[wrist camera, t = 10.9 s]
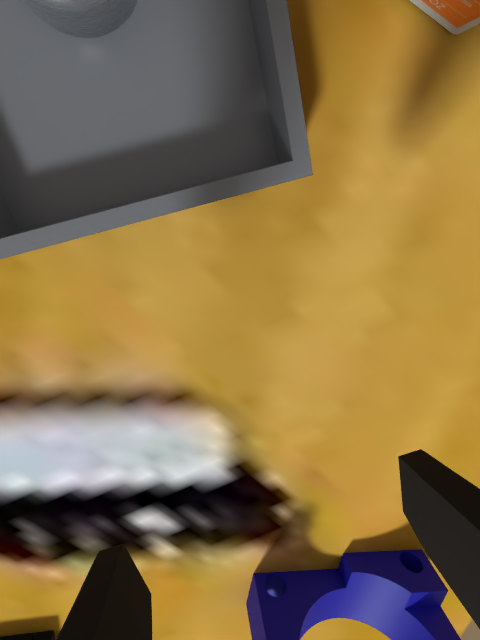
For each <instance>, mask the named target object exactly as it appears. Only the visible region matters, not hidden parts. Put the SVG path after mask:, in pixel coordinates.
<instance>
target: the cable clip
mask: <svg viewBox="0 0 480 640" xmlns="http://www.w3.org/2000/svg"><path fill="white" fill-rule="evenodd" d="M447 592H448V589H447V588H446V586H445V585H444V583H443V582H442V580H441V579H440V577H439V576H438V574H437V572H436V571H435V569H434V568H433V566H432V565H431V563H430V562H429V560H428V559H427V557H426V556H425V554H424V553H423V551H422V550H401V551H380V552H358V553H343V556H342V559H341V562H340V564H339V567H338V569H324V570H306V571H288V572H270V573H253V578H252V582H251V586H250V591H249V595H248V599H247V603H246V605H247V611H248V617H249V623H250V629H251V635H252V640H300V639H301V637H302V636H303V635H304V634H305V633H306V632H307V630H308V629H310V628H311V627H312V626H314V625H315V624H317V623H319V622H321V621H324V620H327V619H331V618H348V619H353V620H357V621H360V622H363V623H366V624H368V625H370V626H372V627H374V628H376V629H377V630H379V631H381V632H382V633H383V634H385V635H386V636H388V637H389V638H390V639H391V640H461V639H460V638H459V636H458V634H457V633H456V631H455V629H454V628H453V626H452V624H451V623H450V621H449V619H448V618H447V616H446V615H445V613H444V611H443V610H442V608H441V604H442V602H443V600H444V598H445V596H446V594H447Z"/></svg>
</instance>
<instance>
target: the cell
mask: <svg viewBox="0 0 480 640" xmlns="http://www.w3.org/2000/svg"><path fill="white" fill-rule="evenodd" d="M23 1H24V2H25V3H26V4H27V5H28V6H29V7H30V9H31V10H32V11H33V12H34V13H35V14H36V15H37V16H38V17H39V18H41V19H42V20H43V21H44V22H46V23H47V24H48V25H50V26H51V27H53V28H55V29H57V30H58V31H61V32H63V33H65V34H68V35H71V36H75V37H82V38H94V37H100V36H103V35H106V34H109V33H111V32H113V31H115V30H116V29H117V28H119V27H120V26H121V25H122V24H123V23H124V22H125V21H126V20H127V19H128V18H129V16H130V15H131V14H132V12H133V10H134V8H135V6H136V4H137V2H138V0H23Z"/></svg>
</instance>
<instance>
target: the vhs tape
mask: <svg viewBox="0 0 480 640" xmlns="http://www.w3.org/2000/svg"><path fill="white" fill-rule="evenodd" d="M0 640H55V635H54V630H53V631H45V632H37V633H34V634H33V633H28V634H19V635H11V636H3V637H0Z"/></svg>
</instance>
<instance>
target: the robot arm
mask: <svg viewBox="0 0 480 640" xmlns="http://www.w3.org/2000/svg"><path fill="white" fill-rule="evenodd" d="M398 457H399V469H400V480H401V491H402V503H403V512H404V514H405V516H406V517H407V519H408V521H409V523H410V525H411V526H412V528H413V530H414V532H415V534H416V535H417V537H418V539H419V541H420V542H421V544H422V546H423V548H424V549H425V551H426V553H427V554H428V556H429V557H430V559H431V560H432V562H433V563H434V564H435V566H436V567H437V569H438V570H439V572H440V573H441V574H442V576H443V577H444V579H445V580H446V582H447V583H448V585H449V586H450V587H451V589H452V590H453V592H454V593H455V595H456V596H457V597H458V599H459V600H460V602H461V603H462V605H463V606H464V607H465V609H466V610H467V612H468V613H469V614H470V616H471V617H472V619H473V620H474V621H475V623H476V624H477V626H478V627H479V629H480V489H479V488H478V487H476V486H475V485H473V484H472V483H470V482H469V481H467V480H466V479H464V478H463V477H461V476H460V475H458V474H457V473H455V472H454V471H452V470H451V469H449V468H448V467H446V466H445V465H444V464H442V463H441V462H439V461H438V460H436V459H435V458H433V457H432V456H430V455H429V454H428V453H426V452H425V451H423V450H421V449H420V450H417V451H414V452H411V453H408V454H405V455H401V456H398ZM56 640H152V607H151V593H150V591H149V589H148V587H147V585H146V584H145V582H144V580H143V578H142V576H141V575H140V573H139V571H138V569H137V567H136V565H135V564H134V562H133V560H132V558H131V556H130V555H129V553H128V551H127V549H126V547H125V545H124V544H121V545H118V546H114V547H111V548H108V549H105V550H102V551H99V553H98V554H97V556H96V558H95V560H94V562H93V564H92V566H91V568H90V571H89V573H88V575H87V577H86V579H85V581H84V583H83V585H82V587H81V590H80V592H79V594H78V596H77V598H76V600H75V602H74V604H73V606H72V608H71V610H70V612H69V615H68V617H67V619H66V621H65V623H64V625H63V627H62V629H61V631H60V633H59V635H58V637H57V639H56Z"/></svg>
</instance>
